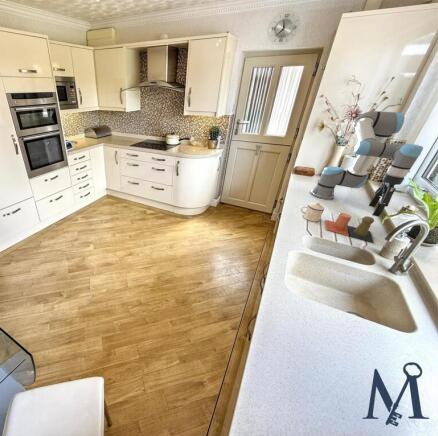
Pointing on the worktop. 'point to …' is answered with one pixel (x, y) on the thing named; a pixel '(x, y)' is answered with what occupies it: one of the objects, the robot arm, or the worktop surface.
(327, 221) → the terracotta mat
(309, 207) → the teacup with lid
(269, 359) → the worktop surface
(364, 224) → the olive rounded bottle shape
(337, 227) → the copper-orange cylinder
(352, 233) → the charcoal mat
